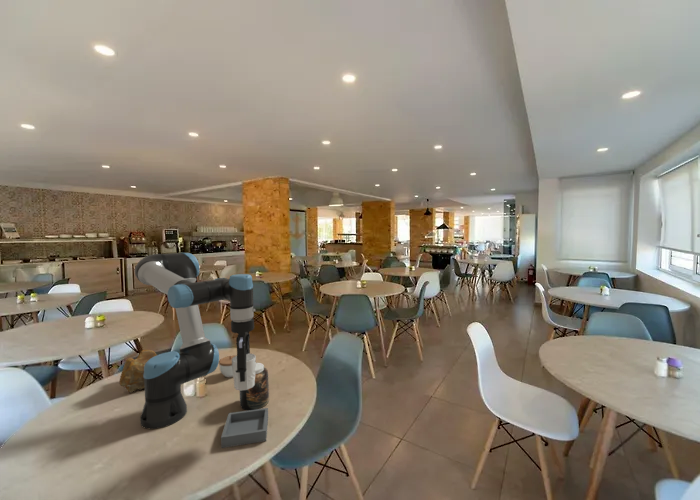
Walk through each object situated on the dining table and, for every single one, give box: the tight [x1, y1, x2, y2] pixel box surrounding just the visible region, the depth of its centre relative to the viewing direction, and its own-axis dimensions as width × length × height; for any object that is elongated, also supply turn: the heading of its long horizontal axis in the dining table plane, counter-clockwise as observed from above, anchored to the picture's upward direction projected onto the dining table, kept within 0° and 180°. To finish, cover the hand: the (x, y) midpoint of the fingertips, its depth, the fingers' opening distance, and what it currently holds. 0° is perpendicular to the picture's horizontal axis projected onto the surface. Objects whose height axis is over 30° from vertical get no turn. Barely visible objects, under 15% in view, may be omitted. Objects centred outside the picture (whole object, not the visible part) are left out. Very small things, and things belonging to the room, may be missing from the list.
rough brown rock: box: [119, 349, 158, 393], centre depth 142 cm, size 23×17×15 cm
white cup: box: [232, 352, 257, 391], centre depth 105 cm, size 8×8×10 cm
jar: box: [239, 362, 270, 411], centre depth 124 cm, size 12×12×15 cm
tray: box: [220, 407, 269, 449], centre depth 106 cm, size 14×14×4 cm
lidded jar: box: [218, 354, 237, 378], centre depth 151 cm, size 11×11×9 cm
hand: (244, 383), depth 105 cm, fingers closed on white cup, 7 cm apart
